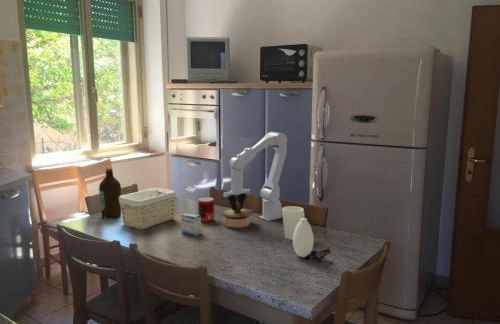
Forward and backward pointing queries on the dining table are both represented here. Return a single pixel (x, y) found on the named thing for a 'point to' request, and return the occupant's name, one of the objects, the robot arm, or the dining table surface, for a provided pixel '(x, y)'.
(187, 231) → the medicine box
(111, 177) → the olive oil
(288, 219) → the foam cup
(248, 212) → the lid
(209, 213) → the canned food
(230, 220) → the bowl
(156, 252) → the dining table surface
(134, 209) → the storage basket
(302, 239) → the sauce bottle
